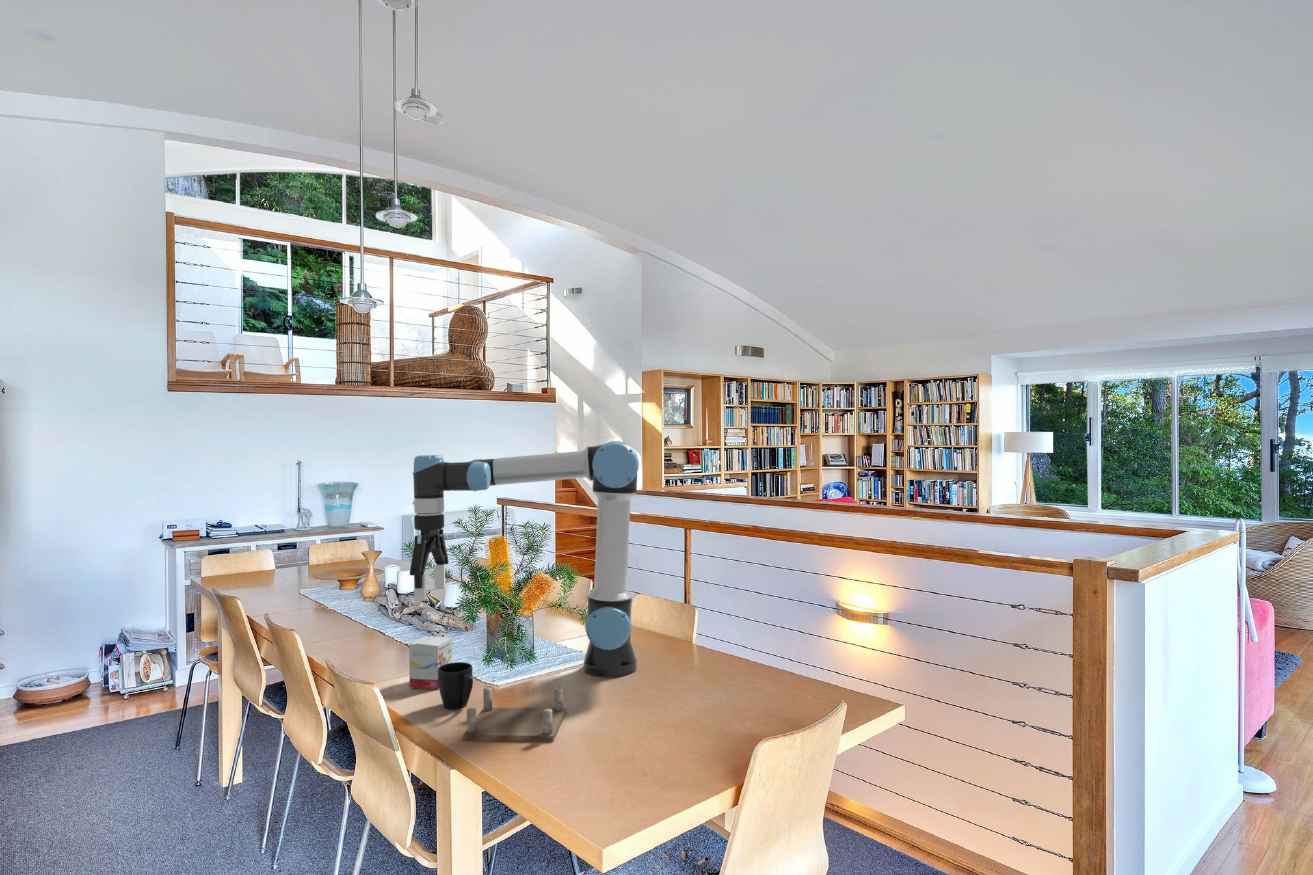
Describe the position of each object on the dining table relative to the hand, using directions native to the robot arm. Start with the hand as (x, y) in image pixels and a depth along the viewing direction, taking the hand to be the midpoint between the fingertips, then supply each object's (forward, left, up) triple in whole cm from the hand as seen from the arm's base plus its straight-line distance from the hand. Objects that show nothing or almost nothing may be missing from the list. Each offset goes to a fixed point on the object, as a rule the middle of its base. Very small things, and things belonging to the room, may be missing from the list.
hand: (430, 594), depth 193 cm
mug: (-11, +12, -25) cm, 30 cm away
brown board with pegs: (-28, +23, -25) cm, 44 cm away
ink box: (+2, -5, -25) cm, 26 cm away
